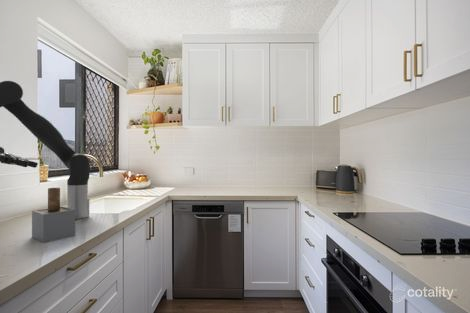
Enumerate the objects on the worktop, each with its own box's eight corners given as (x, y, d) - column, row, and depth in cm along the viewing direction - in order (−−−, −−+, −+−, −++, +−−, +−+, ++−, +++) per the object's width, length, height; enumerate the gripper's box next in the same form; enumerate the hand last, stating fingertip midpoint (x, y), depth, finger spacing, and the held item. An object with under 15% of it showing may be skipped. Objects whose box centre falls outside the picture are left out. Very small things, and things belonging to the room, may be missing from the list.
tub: (62, 230, 112) (63, 206, 112) (75, 235, 105) (75, 209, 105) (31, 237, 103) (32, 210, 103) (43, 242, 96) (43, 214, 96)
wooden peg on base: (60, 210, 110) (61, 186, 110) (69, 213, 105) (70, 188, 105) (37, 214, 103) (37, 188, 103) (46, 217, 98) (46, 190, 98)
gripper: (-24, 141, 93) (28, 155, 98) (-2, 145, 107) (42, 157, 111) (-32, 161, 92) (20, 174, 97) (-9, 162, 106) (36, 174, 110)
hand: (32, 165), depth 104 cm, fingers open, 8 cm apart
